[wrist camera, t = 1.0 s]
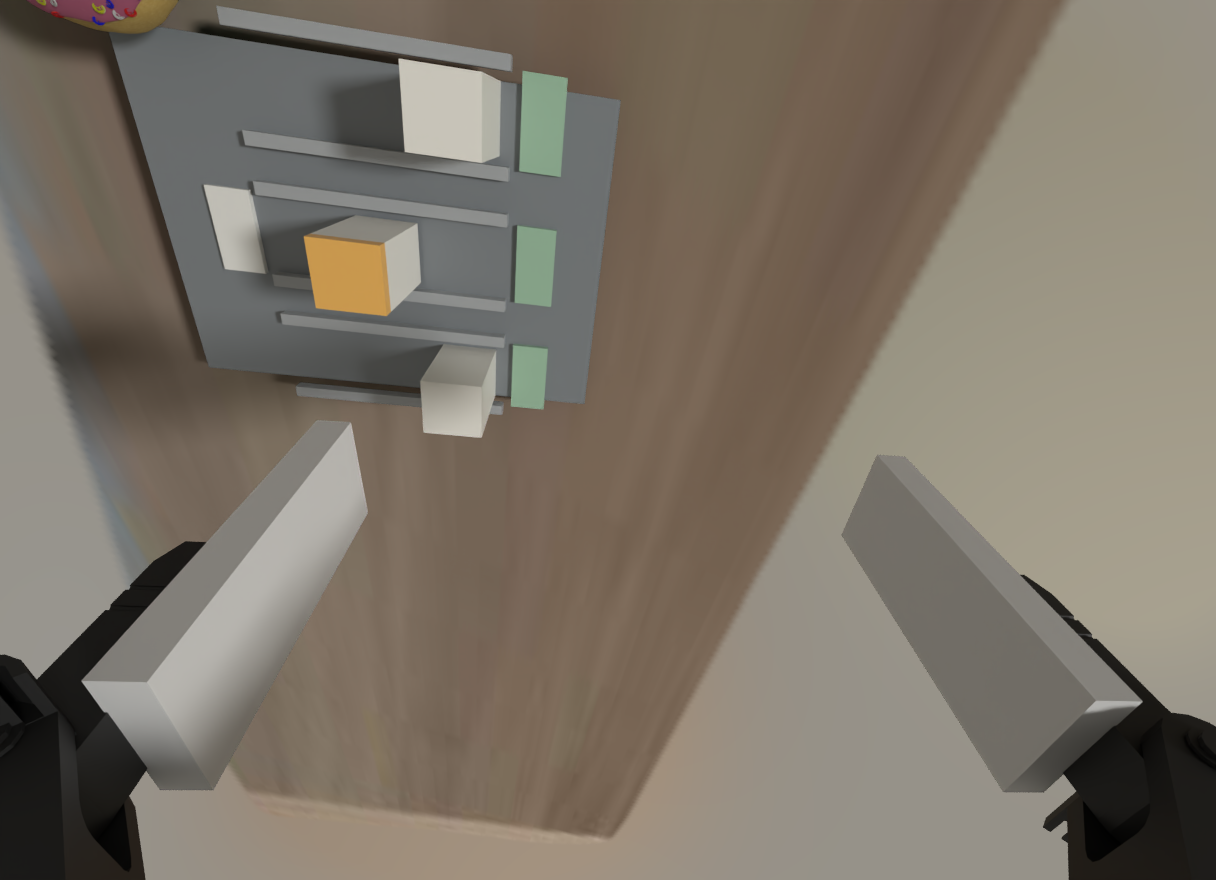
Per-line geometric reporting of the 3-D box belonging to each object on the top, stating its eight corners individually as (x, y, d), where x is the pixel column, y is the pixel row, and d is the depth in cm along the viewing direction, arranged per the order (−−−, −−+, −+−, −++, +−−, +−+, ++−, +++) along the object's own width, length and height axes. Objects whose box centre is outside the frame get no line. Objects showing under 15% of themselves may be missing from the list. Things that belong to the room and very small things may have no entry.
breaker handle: (355, 215, 26) (303, 236, 21) (417, 223, 26) (379, 245, 21) (363, 275, 27) (316, 308, 22) (420, 282, 27) (386, 316, 23)
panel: (131, -3, 23) (-29, -48, 17) (621, 77, 25) (632, 63, 19) (233, 369, 32) (153, 425, 26) (582, 403, 34) (582, 462, 28)
